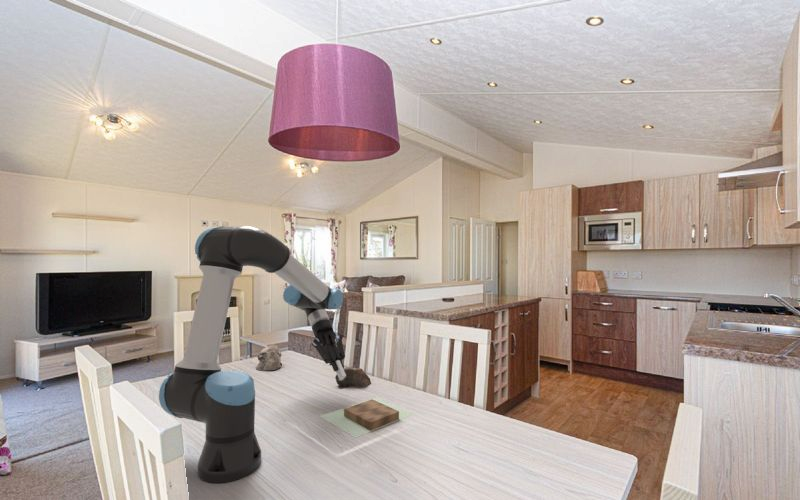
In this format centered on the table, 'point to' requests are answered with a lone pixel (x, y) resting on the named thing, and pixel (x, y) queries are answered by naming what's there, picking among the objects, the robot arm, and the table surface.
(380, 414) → the board
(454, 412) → the table surface
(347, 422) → the mat
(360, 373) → the rock
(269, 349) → the rock
